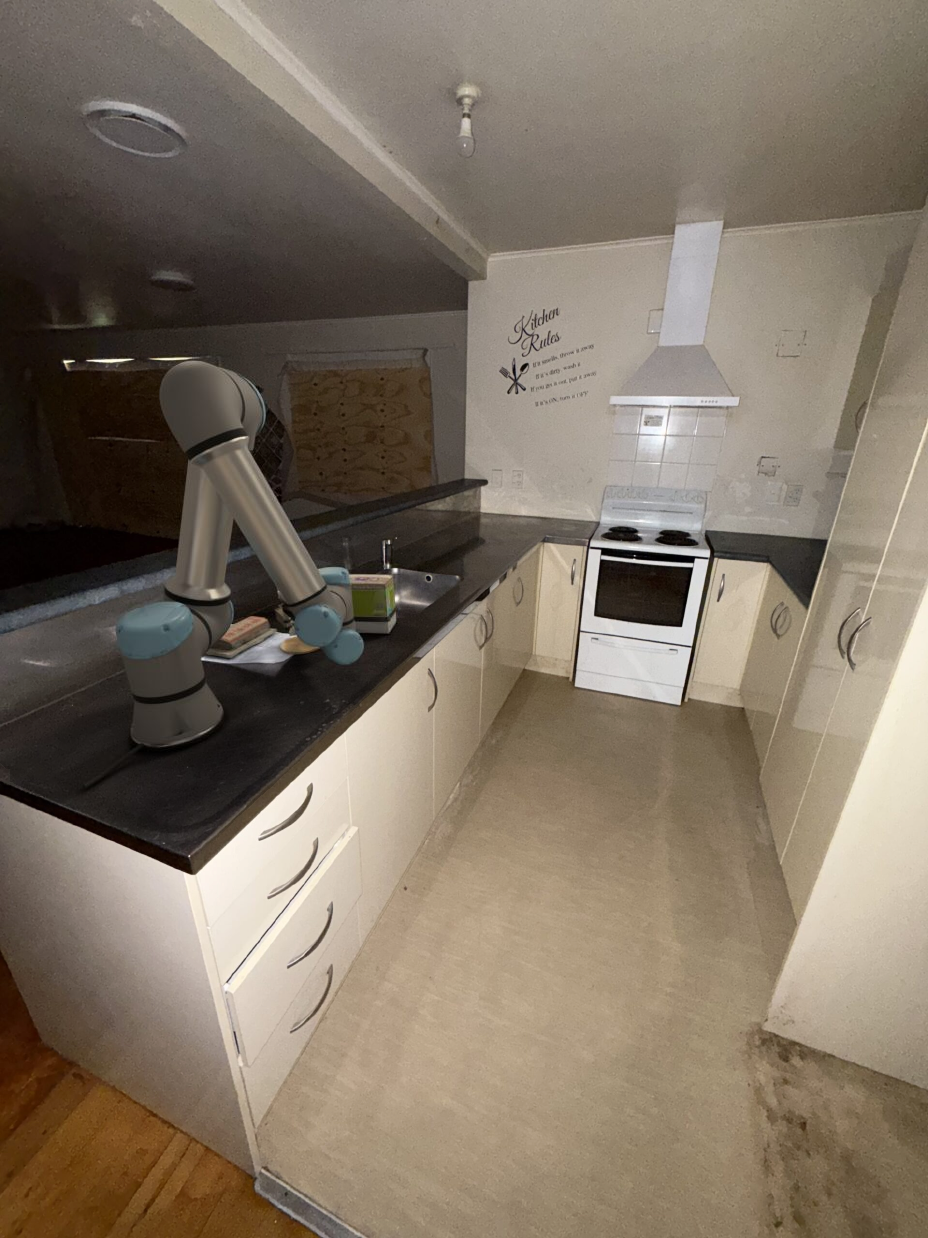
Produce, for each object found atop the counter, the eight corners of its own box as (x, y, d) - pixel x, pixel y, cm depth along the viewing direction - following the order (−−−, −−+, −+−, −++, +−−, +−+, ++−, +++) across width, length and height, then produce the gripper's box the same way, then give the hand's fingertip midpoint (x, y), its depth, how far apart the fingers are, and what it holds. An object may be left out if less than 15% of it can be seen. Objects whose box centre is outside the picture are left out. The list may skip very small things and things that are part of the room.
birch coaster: (309, 656, 121) (309, 654, 121) (271, 651, 124) (271, 649, 124) (332, 639, 131) (331, 637, 131) (296, 635, 134) (296, 633, 134)
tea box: (397, 621, 143) (394, 573, 138) (388, 635, 134) (385, 583, 129) (347, 620, 145) (343, 572, 140) (336, 633, 136) (330, 582, 130)
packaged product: (245, 613, 137) (275, 616, 134) (248, 629, 139) (277, 633, 136) (194, 637, 121) (227, 641, 118) (198, 654, 123) (230, 659, 120)
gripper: (284, 652, 107) (258, 621, 124) (360, 633, 116) (326, 607, 134) (279, 620, 104) (253, 593, 122) (358, 604, 114) (323, 581, 131)
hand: (291, 601), depth 128 cm, fingers closed on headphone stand, 5 cm apart
